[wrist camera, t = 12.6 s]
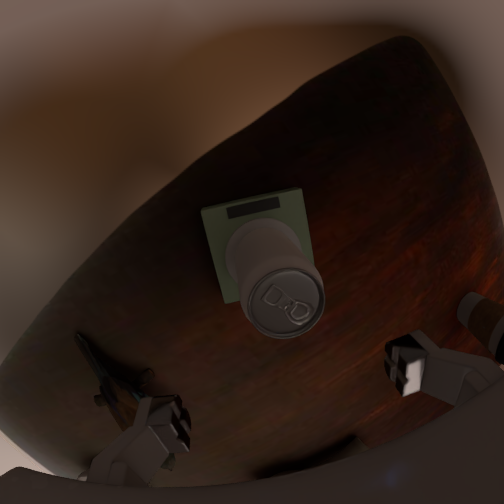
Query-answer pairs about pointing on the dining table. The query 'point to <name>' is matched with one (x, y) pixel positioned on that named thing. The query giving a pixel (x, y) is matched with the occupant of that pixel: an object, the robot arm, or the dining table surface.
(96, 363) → the bird figurine
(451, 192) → the dining table surface
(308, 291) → the can
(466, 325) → the coffee cup
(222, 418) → the dining table surface
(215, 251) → the scale
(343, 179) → the dining table surface
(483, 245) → the dining table surface
